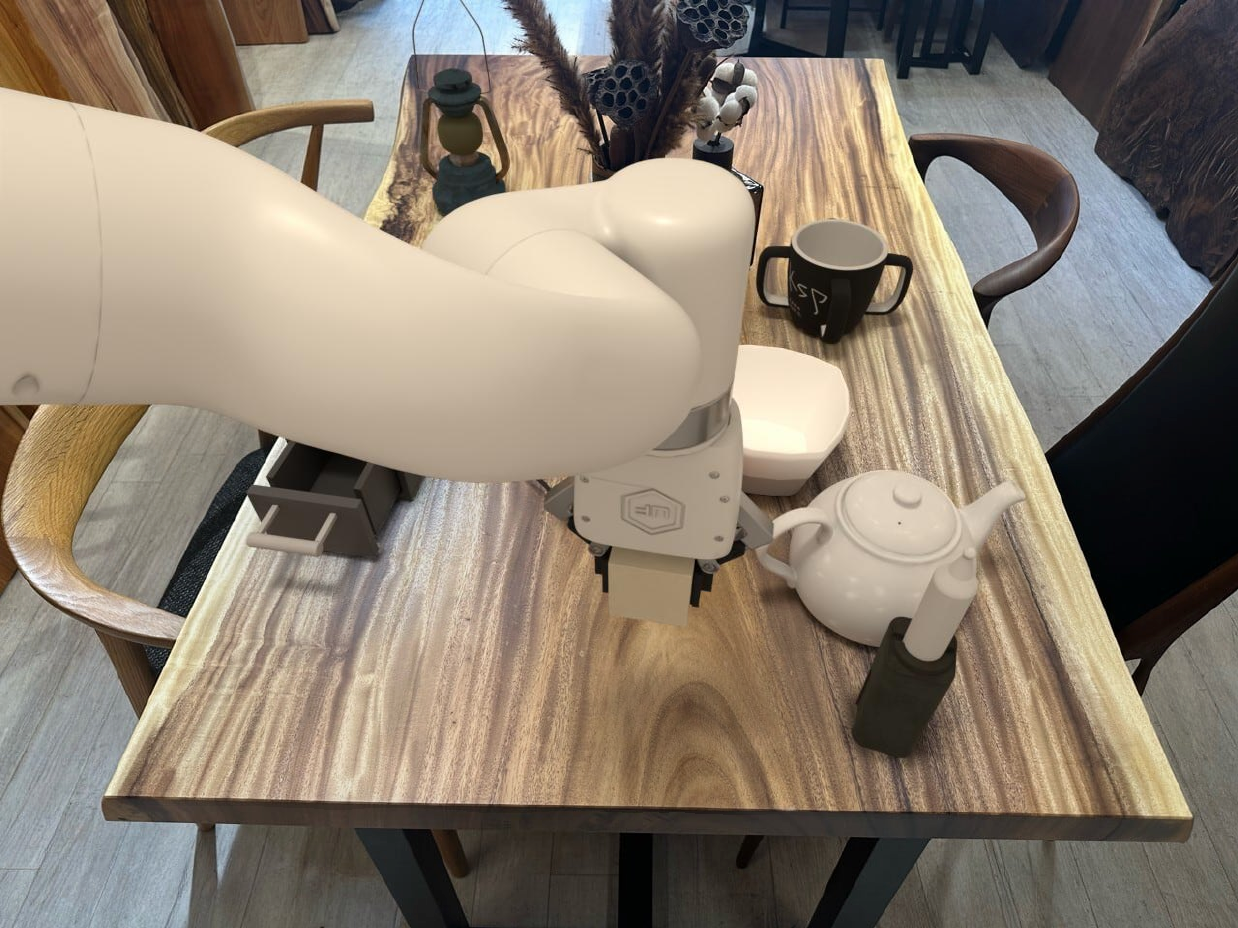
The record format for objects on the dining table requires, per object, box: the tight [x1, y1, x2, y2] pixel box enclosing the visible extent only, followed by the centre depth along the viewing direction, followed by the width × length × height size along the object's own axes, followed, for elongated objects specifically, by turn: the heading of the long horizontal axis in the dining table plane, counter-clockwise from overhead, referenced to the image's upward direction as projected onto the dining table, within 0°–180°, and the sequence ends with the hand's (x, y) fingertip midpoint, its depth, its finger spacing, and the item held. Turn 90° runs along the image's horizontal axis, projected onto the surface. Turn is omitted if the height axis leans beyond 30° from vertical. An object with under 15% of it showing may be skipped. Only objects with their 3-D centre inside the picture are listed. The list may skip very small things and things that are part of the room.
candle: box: [851, 547, 979, 758], centre depth 61 cm, size 5×5×25 cm
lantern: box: [411, 0, 511, 217], centre depth 121 cm, size 14×12×35 cm
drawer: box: [245, 440, 402, 559], centre depth 83 cm, size 18×11×8 cm, turn 170°
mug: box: [755, 217, 914, 345], centre depth 106 cm, size 16×16×12 cm
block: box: [608, 546, 695, 628], centre depth 56 cm, size 6×6×6 cm
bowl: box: [732, 344, 852, 497], centre depth 89 cm, size 18×18×9 cm
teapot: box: [754, 469, 1027, 648], centre depth 76 cm, size 19×18×14 cm
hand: (653, 582), depth 58 cm, fingers closed on block, 5 cm apart
